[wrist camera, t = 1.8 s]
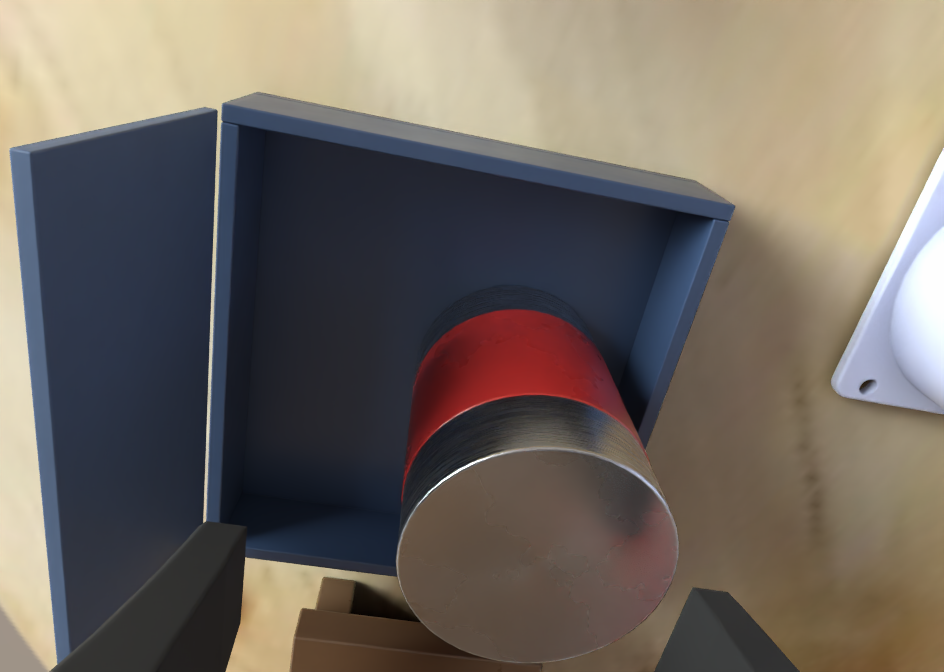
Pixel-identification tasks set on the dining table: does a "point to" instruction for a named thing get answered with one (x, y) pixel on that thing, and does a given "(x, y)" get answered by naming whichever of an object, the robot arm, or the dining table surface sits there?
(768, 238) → the dining table surface
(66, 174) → the flap
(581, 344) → the can
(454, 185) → the carton
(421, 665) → the square board
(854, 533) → the dining table surface
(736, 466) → the dining table surface
